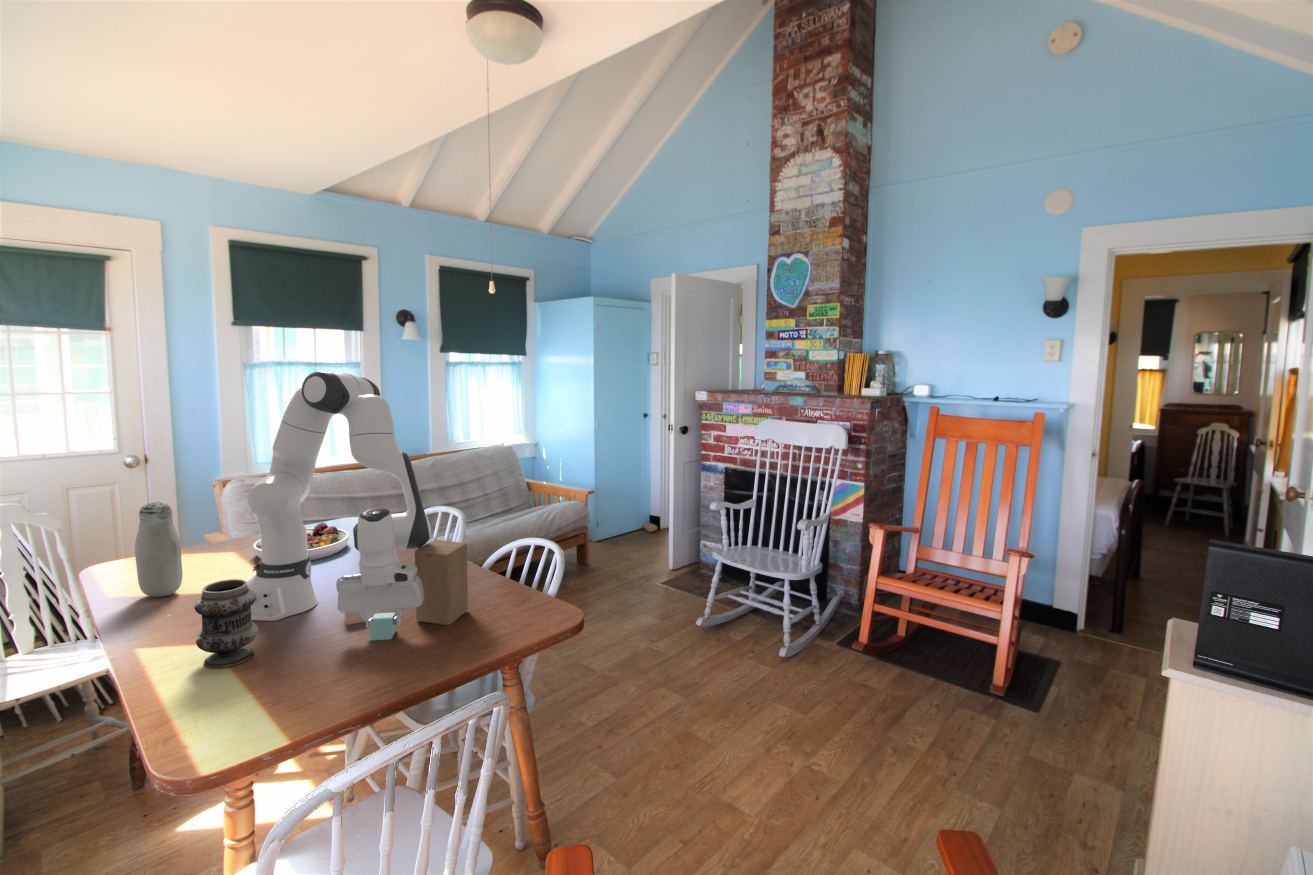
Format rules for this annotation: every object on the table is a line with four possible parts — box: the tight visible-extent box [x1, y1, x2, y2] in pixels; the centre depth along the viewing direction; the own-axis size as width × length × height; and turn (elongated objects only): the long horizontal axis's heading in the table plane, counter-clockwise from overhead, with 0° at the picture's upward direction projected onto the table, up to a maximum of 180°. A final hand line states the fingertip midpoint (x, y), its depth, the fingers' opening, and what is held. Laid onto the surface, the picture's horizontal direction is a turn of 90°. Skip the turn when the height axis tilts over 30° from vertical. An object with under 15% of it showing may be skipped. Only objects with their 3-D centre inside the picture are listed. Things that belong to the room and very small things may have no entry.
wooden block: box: [414, 539, 469, 626], centre depth 168 cm, size 10×10×20 cm
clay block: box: [343, 612, 366, 626], centre depth 166 cm, size 5×5×5 cm
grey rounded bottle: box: [134, 501, 183, 598], centre depth 180 cm, size 10×10×28 cm
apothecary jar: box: [193, 578, 259, 669], centre depth 143 cm, size 12×12×18 cm
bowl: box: [253, 522, 350, 562], centre depth 223 cm, size 30×30×8 cm
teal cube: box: [369, 611, 397, 642], centre depth 157 cm, size 5×5×5 cm
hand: (383, 624), depth 157 cm, fingers closed on teal cube, 5 cm apart
